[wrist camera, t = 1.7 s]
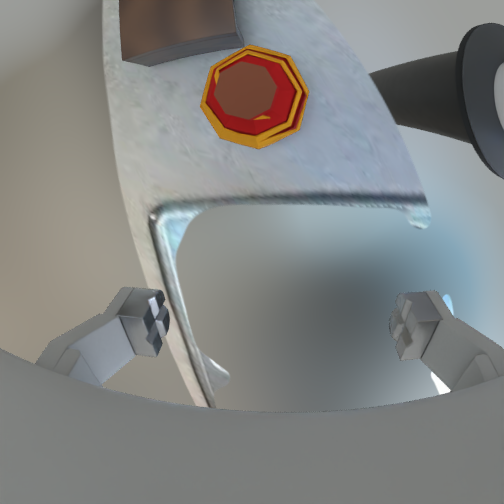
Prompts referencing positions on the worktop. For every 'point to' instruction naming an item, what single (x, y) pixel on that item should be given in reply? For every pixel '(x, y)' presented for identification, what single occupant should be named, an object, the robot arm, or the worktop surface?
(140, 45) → the shelf
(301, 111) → the potion bottle
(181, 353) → the worktop surface
